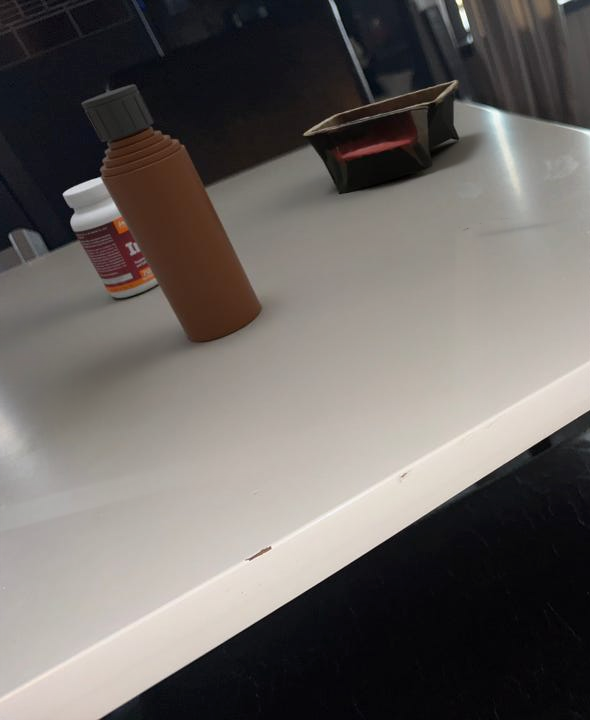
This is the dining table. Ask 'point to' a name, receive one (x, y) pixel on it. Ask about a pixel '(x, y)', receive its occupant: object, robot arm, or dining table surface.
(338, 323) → the dining table surface
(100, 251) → the pill bottle
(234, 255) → the sauce bottle
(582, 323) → the dining table surface
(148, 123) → the cap
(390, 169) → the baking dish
